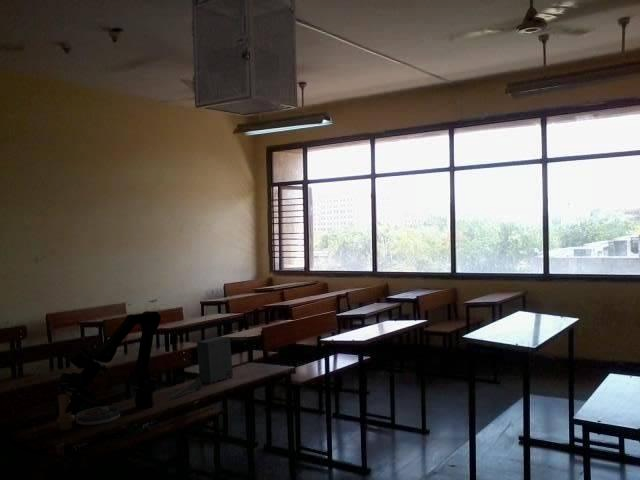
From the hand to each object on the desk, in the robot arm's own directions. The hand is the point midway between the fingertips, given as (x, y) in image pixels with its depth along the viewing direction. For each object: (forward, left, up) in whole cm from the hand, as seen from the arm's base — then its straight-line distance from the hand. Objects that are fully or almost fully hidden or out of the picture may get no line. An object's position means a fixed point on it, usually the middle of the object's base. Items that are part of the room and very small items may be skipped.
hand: (61, 411), depth 225 cm
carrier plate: (-10, -11, -7) cm, 16 cm away
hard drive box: (-50, -67, -7) cm, 84 cm away
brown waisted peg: (-1, -1, -7) cm, 7 cm away
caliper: (-39, -41, -7) cm, 57 cm away
